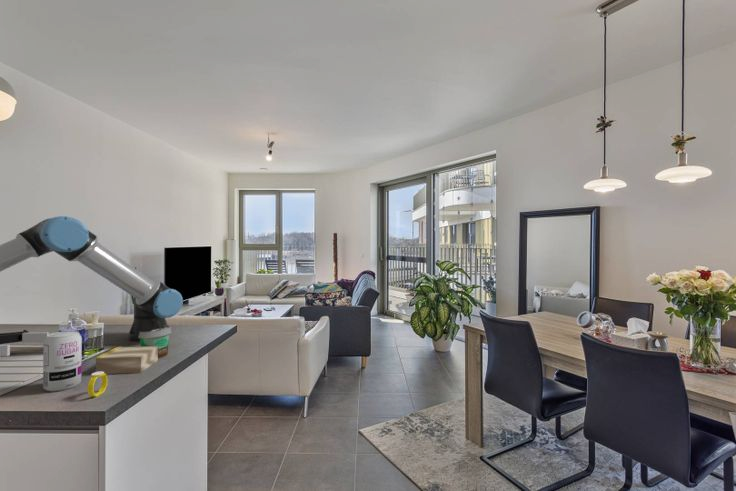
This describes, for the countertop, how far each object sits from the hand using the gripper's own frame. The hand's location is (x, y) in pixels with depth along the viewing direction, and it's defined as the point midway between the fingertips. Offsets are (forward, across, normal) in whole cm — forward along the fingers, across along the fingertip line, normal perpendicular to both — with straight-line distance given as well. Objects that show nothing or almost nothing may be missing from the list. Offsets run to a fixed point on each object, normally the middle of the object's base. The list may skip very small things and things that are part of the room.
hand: (29, 343), depth 100 cm
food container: (+23, -26, -12) cm, 37 cm away
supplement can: (+8, 0, -13) cm, 15 cm away
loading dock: (+18, -15, -12) cm, 27 cm away
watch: (+21, +7, -13) cm, 26 cm away
